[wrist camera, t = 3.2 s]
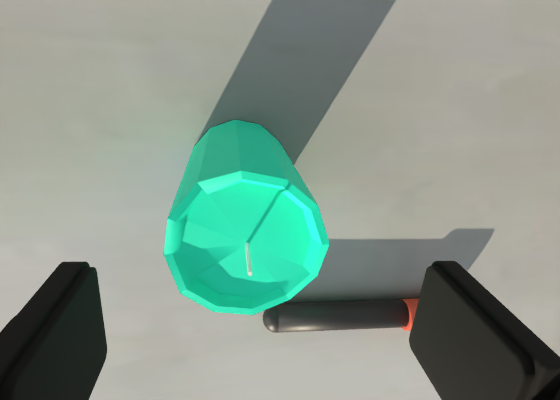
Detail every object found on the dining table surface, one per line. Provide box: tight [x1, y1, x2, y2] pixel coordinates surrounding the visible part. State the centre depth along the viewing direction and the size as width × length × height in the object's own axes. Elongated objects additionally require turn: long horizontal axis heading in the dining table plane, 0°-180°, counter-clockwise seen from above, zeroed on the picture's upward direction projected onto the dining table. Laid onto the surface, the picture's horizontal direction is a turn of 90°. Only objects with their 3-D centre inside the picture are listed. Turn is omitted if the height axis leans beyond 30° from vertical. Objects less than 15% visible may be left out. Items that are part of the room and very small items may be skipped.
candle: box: [164, 120, 330, 315], centre depth 17 cm, size 6×6×12 cm
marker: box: [263, 299, 419, 332], centre depth 27 cm, size 14×2×2 cm, turn 86°
